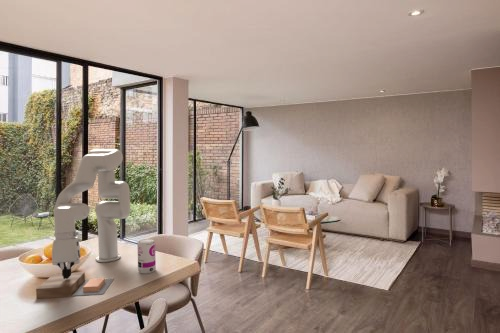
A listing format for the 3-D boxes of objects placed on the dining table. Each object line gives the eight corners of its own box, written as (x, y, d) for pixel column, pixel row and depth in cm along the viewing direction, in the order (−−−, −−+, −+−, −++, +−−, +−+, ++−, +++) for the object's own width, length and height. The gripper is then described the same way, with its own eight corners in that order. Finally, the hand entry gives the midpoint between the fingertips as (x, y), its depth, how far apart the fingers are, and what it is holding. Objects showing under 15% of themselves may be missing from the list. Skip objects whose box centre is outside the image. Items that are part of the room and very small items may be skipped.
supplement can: (158, 268, 164) (158, 239, 163) (149, 275, 156) (148, 243, 155) (144, 267, 166) (143, 238, 165) (134, 273, 158) (133, 242, 157)
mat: (86, 280, 150) (86, 280, 150) (113, 279, 151) (113, 278, 151) (72, 296, 134) (72, 295, 134) (103, 294, 135) (103, 293, 135)
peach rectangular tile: (104, 277, 147) (105, 282, 147) (90, 278, 146) (91, 283, 146) (98, 286, 138) (98, 290, 138) (83, 287, 137) (83, 291, 137)
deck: (54, 282, 148) (54, 273, 147) (85, 280, 150) (84, 272, 149) (36, 298, 132) (36, 288, 132) (70, 296, 134) (70, 286, 133)
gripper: (87, 232, 145) (88, 273, 145) (50, 233, 142) (51, 275, 143) (81, 236, 137) (82, 279, 138) (42, 238, 135) (43, 282, 136)
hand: (66, 277), depth 141 cm, fingers closed
